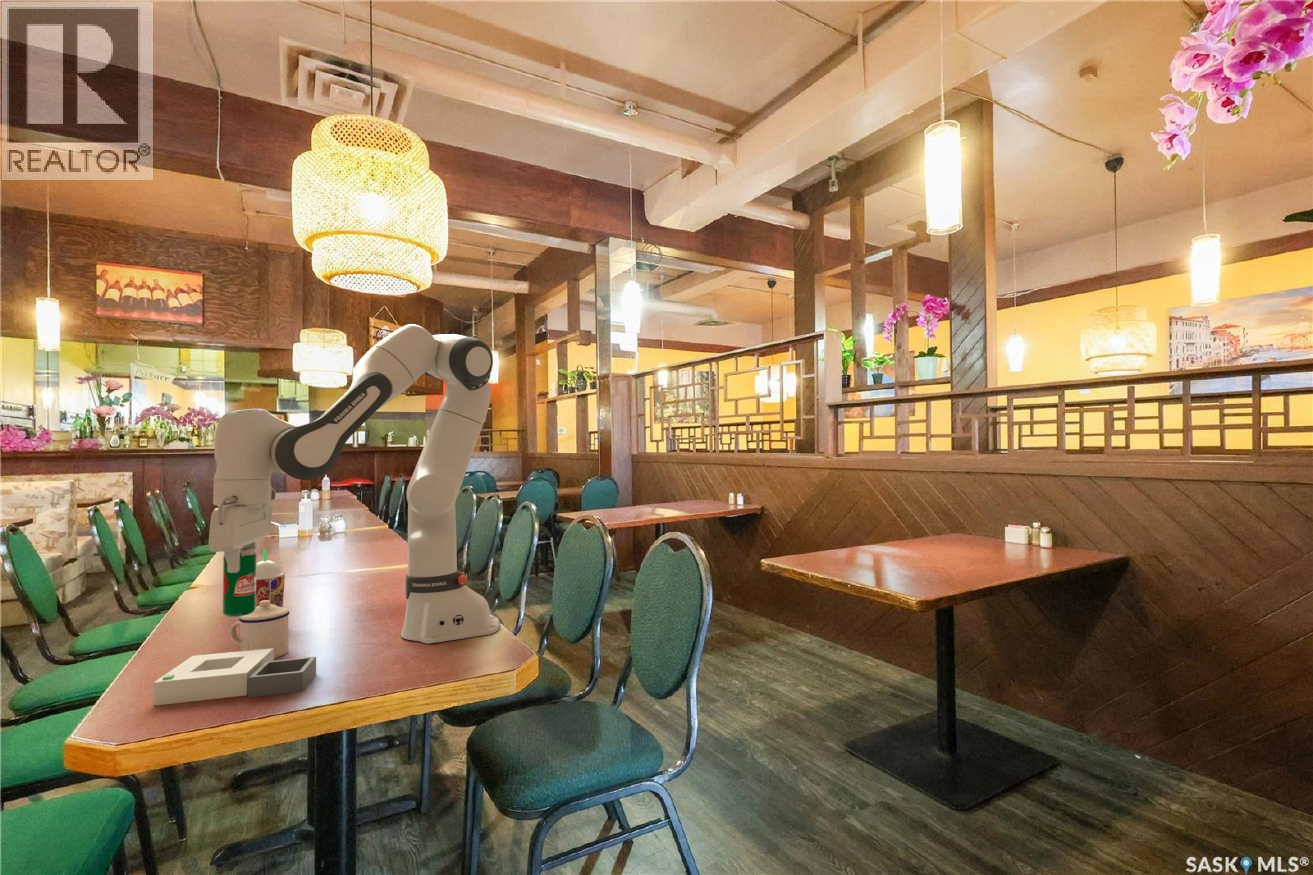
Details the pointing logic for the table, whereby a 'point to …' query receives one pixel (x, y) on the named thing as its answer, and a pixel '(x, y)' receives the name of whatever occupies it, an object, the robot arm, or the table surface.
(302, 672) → the grey square tray
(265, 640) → the teacup with lid
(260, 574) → the smoothie
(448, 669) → the table surface
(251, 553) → the soda can
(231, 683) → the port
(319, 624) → the table surface
